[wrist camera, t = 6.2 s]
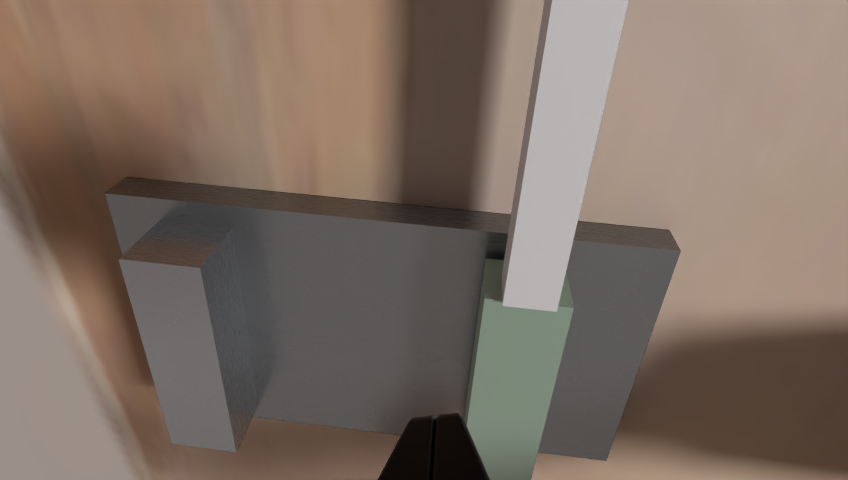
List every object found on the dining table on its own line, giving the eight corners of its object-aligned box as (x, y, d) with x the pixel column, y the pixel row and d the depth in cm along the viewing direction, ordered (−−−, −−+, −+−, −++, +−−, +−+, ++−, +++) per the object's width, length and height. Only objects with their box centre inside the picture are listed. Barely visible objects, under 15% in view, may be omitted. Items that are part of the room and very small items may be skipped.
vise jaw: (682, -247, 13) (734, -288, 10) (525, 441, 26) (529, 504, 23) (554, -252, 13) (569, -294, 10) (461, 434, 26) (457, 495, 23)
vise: (669, 230, 21) (706, 297, 18) (600, 435, 28) (617, 516, 24) (126, 177, 23) (56, 229, 19) (179, 383, 29) (133, 452, 25)
